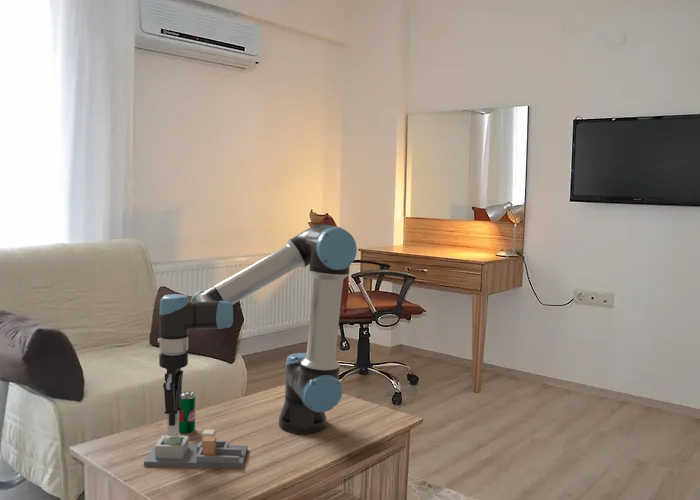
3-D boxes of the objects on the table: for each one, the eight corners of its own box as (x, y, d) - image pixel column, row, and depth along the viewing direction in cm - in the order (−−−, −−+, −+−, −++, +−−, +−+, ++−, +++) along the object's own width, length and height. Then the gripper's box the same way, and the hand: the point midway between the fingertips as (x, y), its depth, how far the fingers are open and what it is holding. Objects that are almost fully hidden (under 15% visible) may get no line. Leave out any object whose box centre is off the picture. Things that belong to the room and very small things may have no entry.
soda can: (190, 435, 191) (191, 396, 190) (174, 433, 192) (175, 395, 191) (197, 429, 196) (198, 391, 195) (182, 427, 197) (183, 389, 196)
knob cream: (214, 446, 181) (215, 429, 180) (212, 451, 178) (213, 433, 177) (204, 446, 181) (204, 429, 180) (202, 450, 178) (202, 433, 177)
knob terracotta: (215, 454, 176) (215, 436, 175) (213, 459, 173) (214, 441, 172) (204, 454, 176) (204, 436, 175) (202, 458, 173) (202, 441, 172)
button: (182, 444, 178) (182, 434, 178) (178, 451, 174) (178, 440, 174) (166, 444, 178) (166, 433, 178) (162, 450, 174) (162, 440, 174)
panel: (247, 449, 183) (247, 434, 183) (241, 468, 171) (242, 452, 171) (156, 447, 182) (156, 431, 182) (143, 465, 170) (144, 449, 170)
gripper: (165, 345, 180) (165, 425, 182) (153, 357, 167) (152, 444, 169) (192, 345, 180) (191, 426, 182) (182, 358, 167) (181, 445, 169)
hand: (173, 434), depth 176 cm, fingers closed
